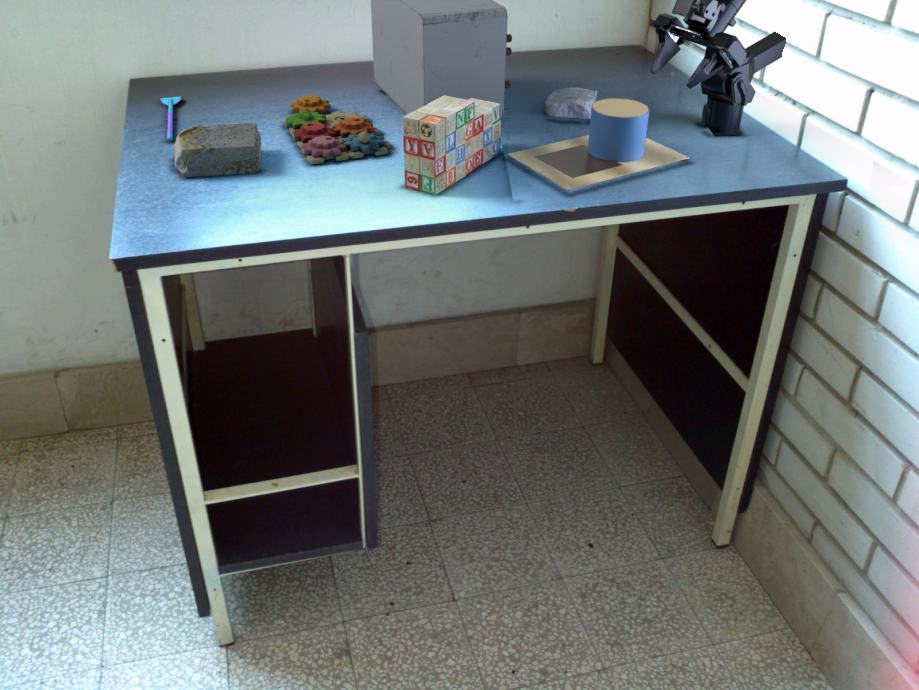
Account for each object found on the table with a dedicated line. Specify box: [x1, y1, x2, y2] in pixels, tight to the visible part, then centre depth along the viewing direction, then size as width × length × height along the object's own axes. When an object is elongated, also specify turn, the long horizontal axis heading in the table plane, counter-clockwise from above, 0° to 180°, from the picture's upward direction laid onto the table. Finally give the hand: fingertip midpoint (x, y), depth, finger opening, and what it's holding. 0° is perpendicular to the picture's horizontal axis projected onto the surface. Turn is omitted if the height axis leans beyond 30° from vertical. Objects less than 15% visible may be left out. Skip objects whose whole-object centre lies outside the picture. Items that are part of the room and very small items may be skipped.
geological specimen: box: [173, 122, 262, 178], centre depth 154 cm, size 11×6×15 cm
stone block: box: [544, 87, 598, 120], centre depth 178 cm, size 12×5×10 cm
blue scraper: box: [160, 96, 182, 142], centre depth 173 cm, size 25×4×1 cm, turn 11°
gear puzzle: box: [283, 94, 392, 165], centre depth 168 cm, size 31×16×4 cm, turn 21°
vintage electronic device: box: [370, 0, 513, 120], centre depth 174 cm, size 32×18×25 cm, turn 22°
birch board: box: [506, 134, 690, 191], centre depth 158 cm, size 27×18×1 cm, turn 122°
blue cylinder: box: [587, 98, 650, 162], centre depth 157 cm, size 10×10×8 cm
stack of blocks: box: [402, 95, 502, 196], centre depth 150 cm, size 21×6×12 cm, turn 148°
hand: (669, 79), depth 158 cm, fingers open, 9 cm apart
